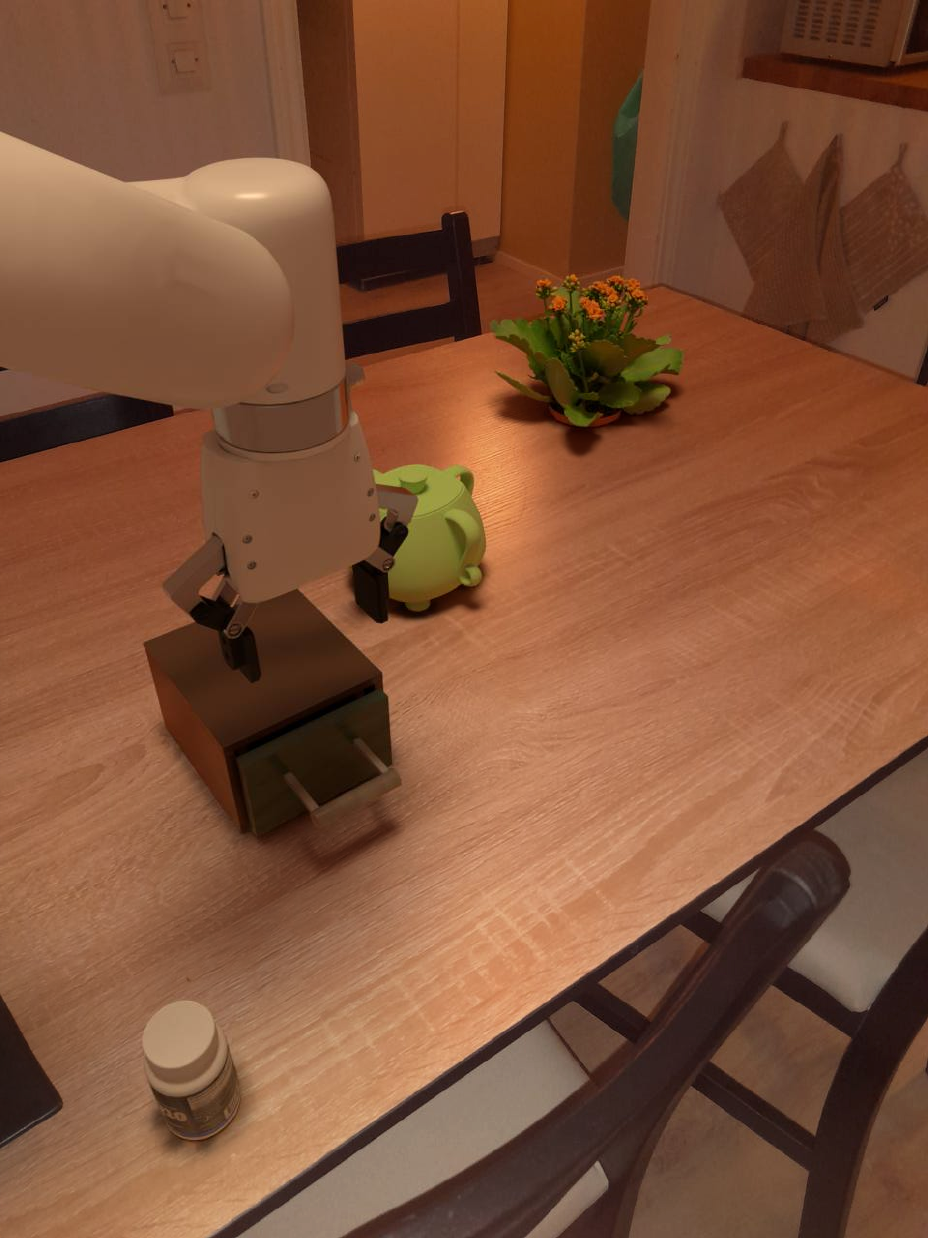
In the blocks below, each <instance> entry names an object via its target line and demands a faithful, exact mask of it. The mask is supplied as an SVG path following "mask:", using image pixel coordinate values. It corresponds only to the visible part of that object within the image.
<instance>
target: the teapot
mask: <svg viewBox="0 0 928 1238" xmlns="http://www.w3.org/2000/svg"><path fill="white" fill-rule="evenodd" d="M373 473H374V478H375V483H376V484H382V485H389V486H395V487H402V488H406V489H407V490H409V491H410V492H411V493H413V494H414V495H416V496H417V497H418V504H417V506H416V509H415V511H414V514H413V517H412V519H411V522H410V523H408V526H407V528H408V531H409V532H408V536H407V537H406V539H405V540H404V542H403V543H402V545H401V546H400V548H399V549H398V551H397V552H396V554H395V555H394V558H395V566H394V568H393V569H392V570H391V571H389V572H388V583H389V599H392V600H394V601H397V602H402V603H405V607H406V608H407V609H408V610H410V611H413V612H422V611H425V610H427V609H428V608H429V607H430V606H431V600H433V599H435V598H439V597H441V596H443V595H445V594H446V595H447V594H448V593H450V592H453V590H455V589H457V588H458V587H459V586H461V585H463V586H466V587H476V586H477V585H478V584H480V583H481V581H482V578H483V573H482V571H481V569H480V568H479V567H478V566H479V565H480V563H481V562H482V561H483V558H484V556H485V553H486V549H487V538H486V531H485V527H484V526H485V525H484V523H483V522H484V521H483V518H482V515H481V513H480V511H479V509H478V507H477V505H476V503H475V501H474V499H473V492H474V486H475V477H474V474H473V472H472V471H471V470H470V469H469V468H468V467H467V466H464V465H460V464H452V465H449V466H447V467H446V468H445V469H443V470H442V469H438V468H436V467H434V466H430V465H426V464H422V463H418V464H417V463H414V464H412V463H411V464H407V465H402V466H399V467H396V468H393V469H391V470H388V471H386V472H380V471H378V470H377V469H374V468H373ZM458 478H459V479H458ZM387 510H388V509H380V508H379V514H380V522H381V521H382V519H383V518H384V517H386V516H387V514H386V513H387ZM347 568H348V569H349V570H350V572H351V573H352V574H353V572H352V566H349V567H347Z"/></svg>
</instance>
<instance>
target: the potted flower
mask: <svg viewBox="0 0 928 1238" xmlns="http://www.w3.org/2000/svg"><path fill="white" fill-rule="evenodd" d="M562 282H563V283H561V286H559V287H558V286H553V287H552V286H551V285H552V281H550V280H549V278H545V279H544V280H543V279H539V280H537V281H536V286H535V287H534V290H535V291H534V293H535V294H534V295H535V297H536V298H537V299H541V300H542V301H543V305H544V310H545V316H544V317H537V318H536V319H533V320H531V322H530V323H529V321H528V320H527V319H524V318H522V317H519V318H516V319H515V321H513V320H512V319H510V318H509V319H507V318H505V319H502V320H501V321H500V323H499V322H498V321H497V320H496V319H493V320H492V321H491V322H489V328H490V331H491V334H492V333H493V336H494V338H495V339H497V340H499V341H502V342H505V343H508V344H510V345H512V346H513V347H515V348H517V349H518V350H520V351H521V352H522V353H524V354H525V355H526V359H527V362H529V363H528V368H529V370H531V371H532V373H533V374H534V376H532V375H530V374H527V376H528V377H529V378H531V379H533V380H535V381H542V383H544V384H545V385H546V386H547V390H548V391H550V392H551V395H549V394H544V395H542V394H540V393H538V392H537V391H536V390H533V389H531V388H529V387H528V386H527V385H525V384H523V383H521V382H520V381H518V380H516V379H513V377H510V376H508V375H506V374H504V373H502V372H498V371H497V370H494V373H495V375H497V376H498V377H499V378H501V379H502V380H503V381H505V382H506V383H507V384H509V385H510V386H511V387H512V388H514V389H516V390H517V391H519V392H520V393H522V394H523V395H524V396H526V397H528V398H531V399H533V400H536V401H539V402H544V403H548V410H549V413H550V414H551V415H552V416H553V418H554V419H555V420H556V421H558V422H561V423H562V424H566V425H570V426H573V427H578V428H597V427H600V426H601V427H603V426H605V425H608V424H610V423H612V422H616V421H617V420H618V419H619V417H620V416H621V412H622V411H623V412H625V413H627V414H629V415H630V416H634V414H635V415H643V414H644V413H645V412H647V413H649V412H650V411H651V412H652V411H654V410H655V408H658V407H660V406H661V404H662V402H665V400H666V398H667V397H669V395H670V394H671V388H670V387H669V386H667V385H665V384H664V383H656V382H654V381H650V380H651V379H652V378H654V377H656V376H658V375H659V374H664V375H665V374H666V375H673V376H679V375H680V372H681V371H682V365H683V362H684V361H683V360H684V351H683V350H681V348H674V347H672V346H668V347H664V346H667V345H670V344H672V338H671V336H672V334H671V333H667V334H662V335H661V336H659V337H657V338H656V339H653V338H645V337H643V336H641V337H637V334H636V333H634V332H632V331H633V329H634V328H635V327H636V326H637V325H638V323H639V322H638V321H635V320H634V318H639V317H640V316H642V314H643V307H644V306H648V305H649V304H650V303H649V297H648V296H647V295H645V294H644V290H641V289H642V287H641V282H639V280H638V279H635V278H633V277H631V278H630V279H625V280H624V277H622V276H621V275H612V276H611V277H607V278H606V280H605V281H601V280H600V281H599V280H597V281H594V282H592V284H591V285H589V286H587V288H585V287H583V288H582V289H581V292H579V290H580V288H581V287H580V285H581V282H580V281H579V278H578V277H577V276H576V275H575V274H574V273H573V274H570V275H567V276H566V277H565V280H562ZM605 282H606V283H605ZM623 293H624V296H623V298H622V299H621V295H622V294H623ZM618 294H619V295H618ZM549 297H551V299H552V301H551V303H550V304H549V306H547V301H546V300H547V299H548V298H549ZM623 302H625V304H624V305H622V303H623ZM638 310H639V311H638ZM636 312H638V314H637V315H635V314H636ZM627 313H629V315H628V317H627V320H626V323H625V325H624V328H623V329H621V326H622V324H623V322H624V320H625V317H626V314H627ZM603 314H605V316H604V317H603ZM551 315H553V316H554V317H551ZM602 318H603V320H604V321H603V320H601V319H602ZM662 346H663V347H664V348H663V347H662ZM648 381H650V382H648Z"/></svg>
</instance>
